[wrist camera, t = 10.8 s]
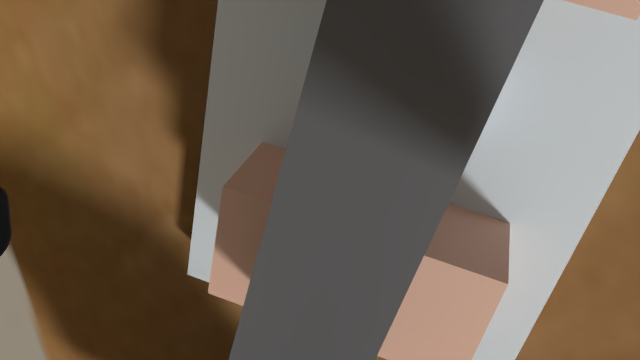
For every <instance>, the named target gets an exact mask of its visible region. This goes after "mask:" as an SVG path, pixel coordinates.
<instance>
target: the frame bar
mask: <svg viewBox="0 0 640 360" xmlns="http://www.w3.org/2000/svg"><path fill="white" fill-rule="evenodd" d="M543 1H544V0H326V4H325V8H324V11H323V15H322V19H321V23H320V26H319V30H318V34H317V37H316V41H315V45H314V48H313V52H312V56H311V59H310V63H309V67H308V70H307V74H306V78H305V81H304V85H303V89H302V92H301V96H300V100H299V103H298V107H297V111H296V114H295V118H294V122H293V125H292V129H291V133H290V136H289V140H288V144H287V147H286V151H285V155H284V158H283V162H282V166H281V169H280V173H279V177H278V180H277V184H276V188H275V191H274V195H273V199H272V202H271V206H270V210H269V213H268V217H267V221H266V224H265V228H264V232H263V235H262V239H261V243H260V246H259V250H258V254H257V257H256V261H255V265H254V268H253V272H252V276H251V279H250V283H249V287H248V290H247V294H246V298H245V301H244V305H243V309H242V312H241V316H240V320H239V323H238V327H237V331H236V334H235V338H234V342H233V345H232V349H231V353H230V356H229V360H375V359H376V357H377V355H378V353H379V351H380V348H381V346H382V344H383V342H384V340H385V338H386V336H387V334H388V331H389V329H390V327H391V325H392V323H393V321H394V319H395V316H396V314H397V312H398V310H399V308H400V306H401V304H402V302H403V299H404V297H405V295H406V293H407V291H408V289H409V287H410V284H411V282H412V280H413V278H414V276H415V274H416V272H417V270H418V267H419V265H420V263H421V261H422V259H423V257H424V255H425V253H426V250H427V248H428V246H429V244H430V242H431V240H432V238H433V235H434V233H435V231H436V229H437V227H438V225H439V223H440V221H441V218H442V216H443V214H444V212H445V210H446V208H447V206H448V204H449V201H450V199H451V197H452V195H453V193H454V191H455V189H456V186H457V184H458V182H459V180H460V178H461V176H462V174H463V172H464V169H465V167H466V165H467V163H468V161H469V159H470V157H471V154H472V152H473V150H474V148H475V146H476V144H477V142H478V140H479V137H480V135H481V133H482V131H483V129H484V127H485V125H486V123H487V120H488V118H489V116H490V114H491V112H492V110H493V108H494V105H495V103H496V101H497V99H498V97H499V95H500V93H501V91H502V88H503V86H504V84H505V82H506V80H507V78H508V76H509V73H510V71H511V69H512V67H513V65H514V63H515V61H516V59H517V56H518V54H519V52H520V50H521V48H522V46H523V44H524V42H525V39H526V37H527V35H528V33H529V31H530V29H531V27H532V24H533V22H534V20H535V18H536V16H537V14H538V12H539V10H540V7H541V5H542V3H543Z"/></svg>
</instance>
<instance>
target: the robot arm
mask: <svg viewBox="0 0 640 360" xmlns="http://www.w3.org/2000/svg"><path fill="white" fill-rule="evenodd" d="M10 239H11V220H10V209H9V198H8V194H7V193H6V191H5V189H3V188H2V187H0V256H1V255H2V254H3V253H4V251H5V250H6V248H7V247H8V245H9V242H10Z"/></svg>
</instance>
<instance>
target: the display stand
mask: <svg viewBox="0 0 640 360" xmlns="http://www.w3.org/2000/svg"><path fill="white" fill-rule="evenodd" d="M325 4H326V0H218V6H217V15H216V24H215V33H214V42H213V50H212V59H211V68H210V77H209V86H208V95H207V104H206V113H205V122H204V131H203V140H202V148H201V157H200V166H199V175H198V184H197V193H196V202H195V211H194V220H193V229H192V237H191V246H190V255H189V264H188V273H187V275H190V276H193V277H195V278H198V279H201V280H204V281H206V282H209V289H208V293H209V294H212V295H214V296H217V297H220V298H223V299H225V300H228V301H231V302H233V303H236V304H239V305H241V306H243V305H244V301H245V298H246V294H247V290H248V287H249V283H250V279H251V276H252V272H253V268H254V265H255V261H256V257H257V254H258V250H259V246H260V243H261V239H262V235H263V232H264V228H265V224H266V221H267V217H268V213H269V210H270V206H271V202H272V199H273V195H274V191H275V188H276V184H277V180H278V177H279V173H280V169H281V166H282V162H283V158H284V155H285V151H286V147H287V144H288V140H289V136H290V133H291V129H292V125H293V122H294V118H295V114H296V111H297V107H298V103H299V100H300V96H301V92H302V89H303V85H304V81H305V78H306V74H307V70H308V67H309V63H310V59H311V56H312V52H313V48H314V45H315V41H316V37H317V34H318V30H319V26H320V23H321V19H322V15H323V11H324V8H325ZM639 130H640V0H544V1H543V3H542V5H541V7H540V10H539V12H538V14H537V16H536V18H535V20H534V22H533V24H532V27H531V29H530V31H529V33H528V35H527V37H526V39H525V42H524V44H523V46H522V48H521V50H520V52H519V54H518V56H517V59H516V61H515V63H514V65H513V67H512V69H511V71H510V73H509V76H508V78H507V80H506V82H505V84H504V86H503V88H502V91H501V93H500V95H499V97H498V99H497V101H496V103H495V105H494V108H493V110H492V112H491V114H490V116H489V118H488V120H487V123H486V125H485V127H484V129H483V131H482V133H481V135H480V137H479V140H478V142H477V144H476V146H475V148H474V150H473V152H472V154H471V157H470V159H469V161H468V163H467V165H466V167H465V169H464V172H463V174H462V176H461V178H460V180H459V182H458V184H457V186H456V189H455V191H454V193H453V195H452V197H451V199H450V201H449V204H448V206H447V208H446V210H445V212H444V214H443V216H442V218H441V221H440V223H439V225H438V227H437V229H436V231H435V233H434V235H433V238H432V240H431V242H430V244H429V246H428V248H427V250H426V253H425V255H424V257H423V259H422V261H421V263H420V265H419V267H418V270H417V272H416V274H415V276H414V278H413V280H412V282H411V284H410V287H409V289H408V291H407V293H406V295H405V297H404V299H403V302H402V304H401V306H400V308H399V310H398V312H397V314H396V316H395V319H394V321H393V323H392V325H391V327H390V329H389V331H388V334H387V336H386V338H385V340H384V342H383V344H382V346H381V348H380V351H379V353H378V355H377V356H379V357H382V358H385V359H387V360H515V359H516V357H517V355H518V353H519V351H520V349H521V348H522V346H523V344H524V342H525V340H526V338H527V337H528V335H529V333H530V331H531V329H532V327H533V325H534V324H535V322H536V320H537V318H538V316H539V314H540V313H541V311H542V309H543V307H544V305H545V303H546V301H547V300H548V298H549V296H550V294H551V292H552V290H553V289H554V287H555V285H556V283H557V281H558V279H559V277H560V276H561V274H562V272H563V270H564V268H565V266H566V265H567V263H568V261H569V259H570V257H571V255H572V253H573V252H574V250H575V248H576V246H577V244H578V242H579V241H580V239H581V237H582V235H583V233H584V231H585V229H586V228H587V226H588V224H589V222H590V220H591V218H592V217H593V215H594V213H595V211H596V209H597V207H598V206H599V204H600V202H601V200H602V198H603V196H604V194H605V193H606V191H607V189H608V187H609V185H610V183H611V182H612V180H613V178H614V176H615V174H616V172H617V170H618V169H619V167H620V165H621V163H622V161H623V159H624V158H625V156H626V154H627V152H628V150H629V148H630V146H631V145H632V143H633V141H634V139H635V137H636V135H637V134H638V132H639Z"/></svg>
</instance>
